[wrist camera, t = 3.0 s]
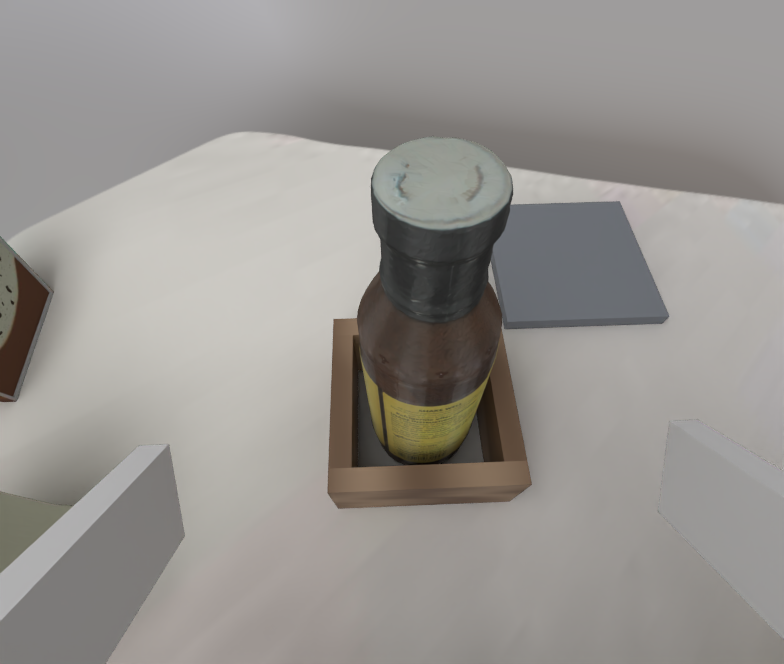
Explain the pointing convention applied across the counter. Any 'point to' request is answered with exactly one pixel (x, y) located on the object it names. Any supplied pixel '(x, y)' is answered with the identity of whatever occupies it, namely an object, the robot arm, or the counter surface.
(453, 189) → the sauce bottle
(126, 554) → the robot arm
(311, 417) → the counter surface
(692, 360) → the counter surface
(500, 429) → the walnut sleeve
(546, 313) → the rubber mat
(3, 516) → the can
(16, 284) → the food container
